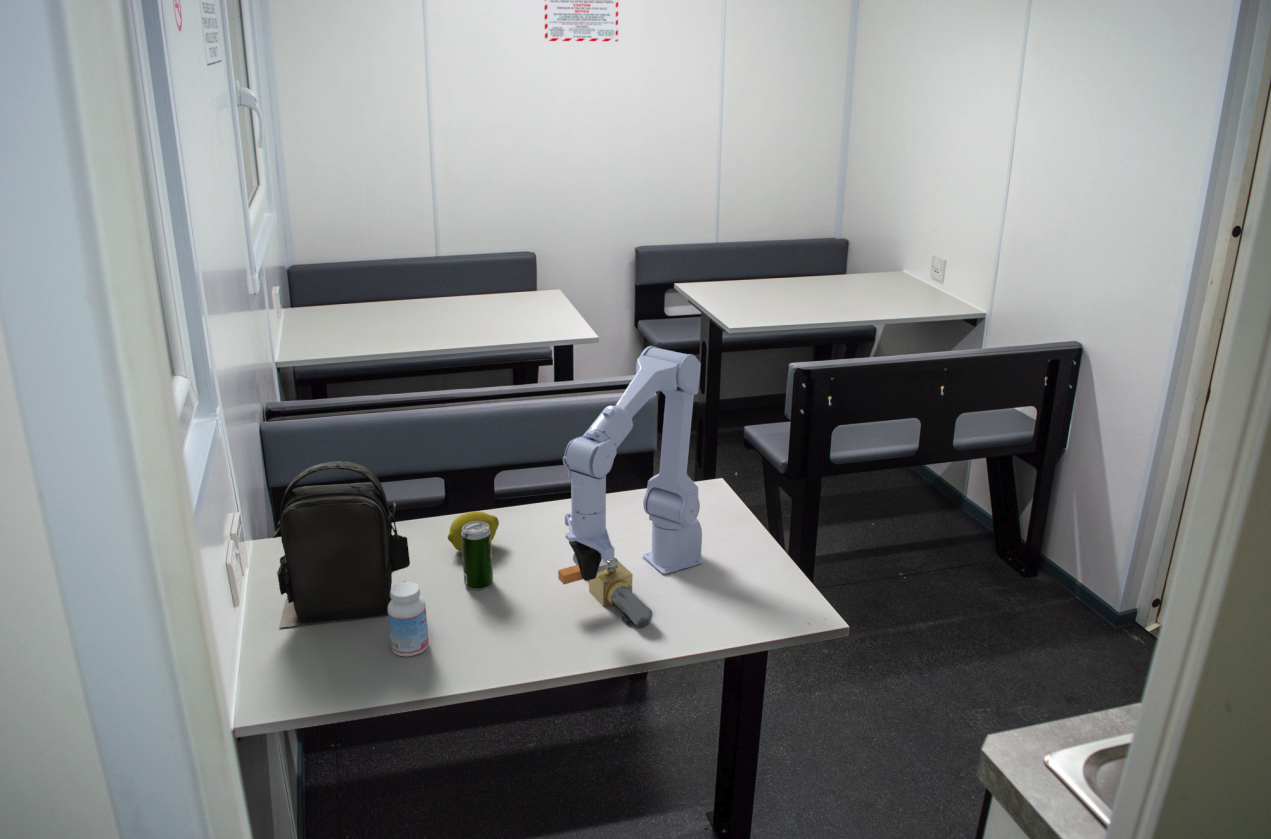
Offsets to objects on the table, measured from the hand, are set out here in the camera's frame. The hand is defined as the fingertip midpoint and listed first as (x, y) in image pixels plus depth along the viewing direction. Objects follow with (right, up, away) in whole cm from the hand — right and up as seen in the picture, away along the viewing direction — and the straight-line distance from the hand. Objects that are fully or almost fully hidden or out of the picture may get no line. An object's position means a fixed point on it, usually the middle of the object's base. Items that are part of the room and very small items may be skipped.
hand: (588, 578), depth 154 cm
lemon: (-24, +1, +27) cm, 36 cm away
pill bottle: (-30, -11, -4) cm, 32 cm away
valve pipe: (+3, -5, +12) cm, 13 cm away
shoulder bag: (-43, -7, +7) cm, 44 cm away
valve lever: (0, -1, +8) cm, 8 cm away
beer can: (-21, -4, +14) cm, 26 cm away
